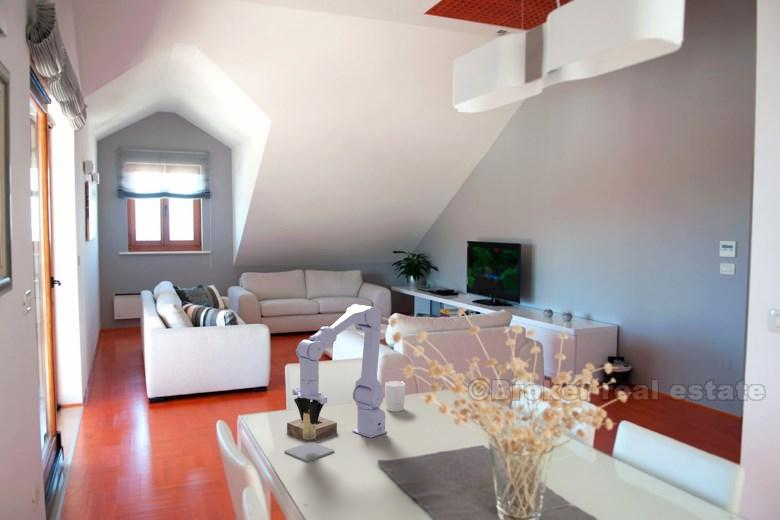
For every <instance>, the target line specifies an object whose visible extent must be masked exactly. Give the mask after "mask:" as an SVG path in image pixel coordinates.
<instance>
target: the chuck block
mask: <svg viewBox="0 0 780 520" xmlns="http://www.w3.org/2000/svg"><path fill="white" fill-rule="evenodd" d="M336 432H337V433H338V422H336V421H334V420H330V419H328V418H324V417H322V416H319V418H318V422H317V423H316V438H315V439H316V440H319V439H322V438H324V436H325V437H328V436H330V435H334V434H336ZM286 433H287V434H289V435H291V434H292V435H291V436H294V437H296V436H297V438H300V439H301V440H304V438H303V421H302V420H301V418H297V419H295V420H292V421H289V422H286ZM333 433H334V434H333ZM321 437H322V438H321ZM318 438H319V439H318ZM315 439H311V440H307V439H305V440H304V441H307V442H309V441H310V442H313V441H316V440H315ZM312 440H313V441H312Z"/></svg>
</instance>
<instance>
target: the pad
mask: <svg viewBox="0 0 780 520" xmlns="http://www.w3.org/2000/svg"><path fill="white" fill-rule="evenodd" d="M283 452H284V453H285V454H286V455H289V456H291V457H294V458H295V459H298V460H301V461H303V462H306V463H309V462H312V461H315V460H317V459H319V458H323V457H325V456H328V455H330V454H331V455H332V454H333V452H334V453H335V450H334V449H332V448H330V447H328V446H327V447H326V446H324V445H321V444H320V443H316V442H314V441H310V442H309V441H308V442H306V443H303V444H300V445H297V446H294V447H291V448H288V449H286V450H284V451H283Z"/></svg>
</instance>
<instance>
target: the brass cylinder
mask: <svg viewBox="0 0 780 520" xmlns="http://www.w3.org/2000/svg"><path fill="white" fill-rule="evenodd" d="M303 438H304V439H307V440H311V439H315V438H316V424H311V422H310V412H309V410H307V411H304V412H303ZM304 439H303V440H304ZM307 440H306V441H307Z"/></svg>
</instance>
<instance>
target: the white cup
mask: <svg viewBox="0 0 780 520" xmlns="http://www.w3.org/2000/svg"><path fill="white" fill-rule="evenodd" d="M384 395H385V396H384V397H385V410H387V411H389V412H393V413H395V412H397V413H398V412H401V411H402V412H403V411H404V408H405V397H406V396H405V395H406V383H405V382H404V381H400V380H389V381H386V382H384Z"/></svg>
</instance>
